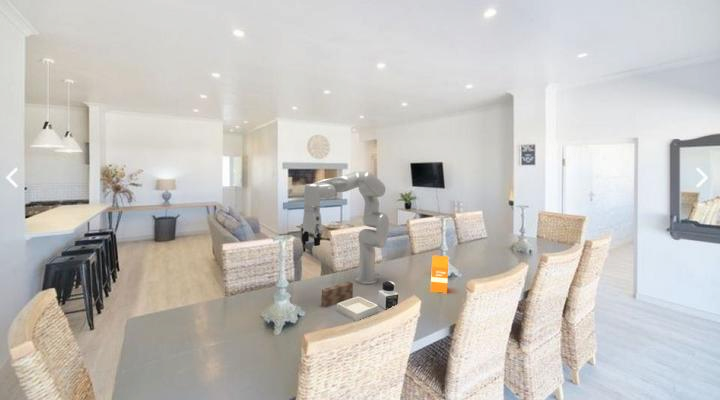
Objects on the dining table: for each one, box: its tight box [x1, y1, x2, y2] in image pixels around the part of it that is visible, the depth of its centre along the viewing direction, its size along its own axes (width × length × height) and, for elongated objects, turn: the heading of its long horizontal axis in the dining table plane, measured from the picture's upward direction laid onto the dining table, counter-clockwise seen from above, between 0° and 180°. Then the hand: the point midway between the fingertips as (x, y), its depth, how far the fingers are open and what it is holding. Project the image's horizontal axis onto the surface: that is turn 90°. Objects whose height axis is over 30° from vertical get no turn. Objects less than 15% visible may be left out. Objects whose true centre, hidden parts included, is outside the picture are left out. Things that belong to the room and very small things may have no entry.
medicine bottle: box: [377, 280, 399, 311], centre depth 160 cm, size 7×7×12 cm
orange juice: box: [430, 254, 449, 294], centre depth 183 cm, size 8×9×20 cm
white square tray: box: [336, 295, 380, 322], centre depth 153 cm, size 14×14×4 cm
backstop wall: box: [320, 281, 354, 308], centre depth 164 cm, size 18×3×8 cm, turn 134°
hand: (311, 243), depth 159 cm, fingers open, 9 cm apart
